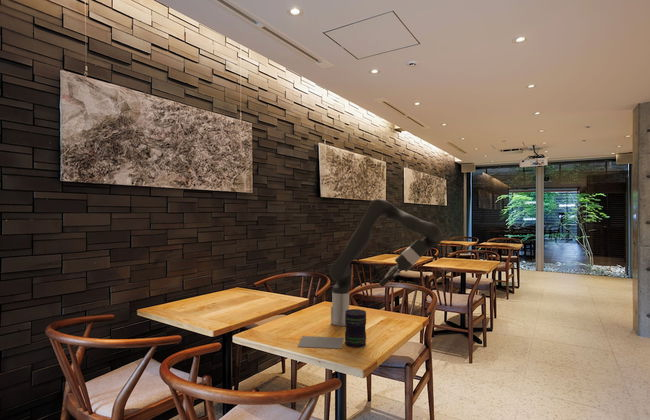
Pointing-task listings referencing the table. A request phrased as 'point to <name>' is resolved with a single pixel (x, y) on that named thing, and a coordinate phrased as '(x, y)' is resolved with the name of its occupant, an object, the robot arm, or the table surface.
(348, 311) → the dark ribbed cylinder
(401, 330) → the table surface
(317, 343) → the mat
